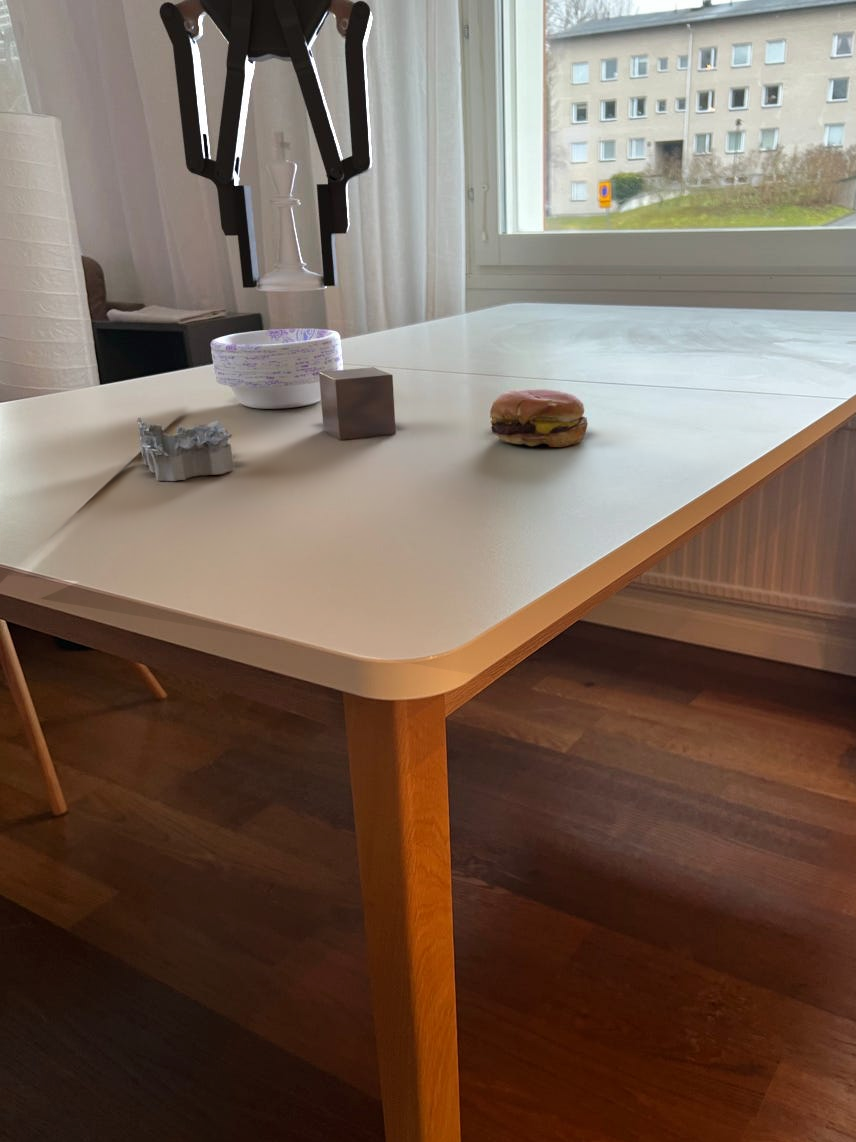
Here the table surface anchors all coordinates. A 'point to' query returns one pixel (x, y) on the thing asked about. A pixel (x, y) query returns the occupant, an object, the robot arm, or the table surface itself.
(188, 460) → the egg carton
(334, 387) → the walnut block
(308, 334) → the paper bowls
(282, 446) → the table surface
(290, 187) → the chess piece
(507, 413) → the burger
